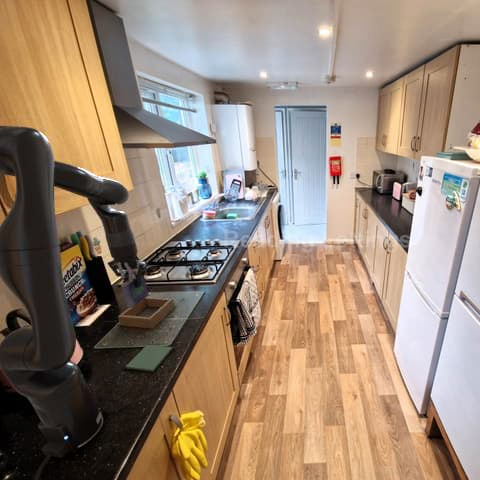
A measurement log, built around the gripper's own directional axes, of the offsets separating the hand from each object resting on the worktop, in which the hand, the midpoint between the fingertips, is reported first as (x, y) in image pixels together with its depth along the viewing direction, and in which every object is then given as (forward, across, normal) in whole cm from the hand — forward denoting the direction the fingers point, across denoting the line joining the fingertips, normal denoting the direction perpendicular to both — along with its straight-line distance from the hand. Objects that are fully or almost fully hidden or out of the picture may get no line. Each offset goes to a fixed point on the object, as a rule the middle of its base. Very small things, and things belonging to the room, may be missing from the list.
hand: (134, 286), depth 95 cm
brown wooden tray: (+21, -7, +10) cm, 25 cm away
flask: (+6, 0, 0) cm, 6 cm away
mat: (+22, +10, -11) cm, 26 cm away
